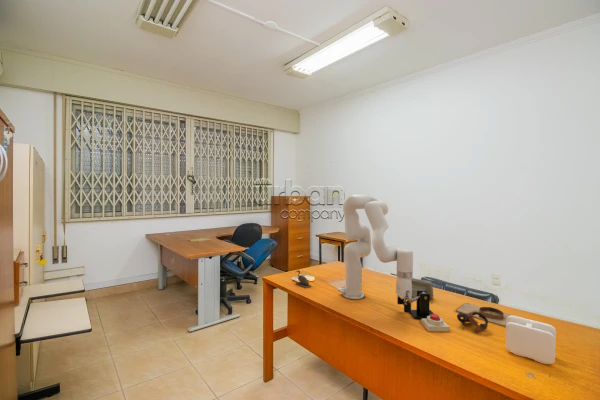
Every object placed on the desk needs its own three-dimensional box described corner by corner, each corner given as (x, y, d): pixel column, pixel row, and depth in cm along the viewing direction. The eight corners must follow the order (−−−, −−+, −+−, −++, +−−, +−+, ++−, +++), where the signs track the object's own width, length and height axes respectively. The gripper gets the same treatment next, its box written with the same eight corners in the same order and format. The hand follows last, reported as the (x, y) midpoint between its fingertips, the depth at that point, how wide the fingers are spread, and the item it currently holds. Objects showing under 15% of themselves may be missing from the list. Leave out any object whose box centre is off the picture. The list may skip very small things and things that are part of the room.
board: (523, 319, 135) (523, 313, 135) (515, 330, 125) (516, 322, 125) (466, 304, 154) (466, 298, 154) (455, 312, 144) (455, 305, 144)
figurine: (292, 282, 190) (292, 269, 190) (297, 281, 193) (297, 268, 192) (305, 288, 179) (305, 274, 179) (310, 286, 182) (311, 273, 182)
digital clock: (435, 298, 162) (435, 280, 162) (427, 302, 156) (427, 283, 156) (408, 291, 174) (409, 274, 174) (401, 294, 169) (401, 276, 168)
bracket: (414, 319, 136) (415, 294, 136) (408, 311, 144) (409, 289, 144) (437, 319, 136) (438, 295, 135) (430, 312, 144) (430, 289, 143)
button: (432, 321, 126) (432, 317, 126) (429, 317, 129) (429, 313, 129) (440, 321, 126) (440, 317, 126) (437, 317, 129) (437, 313, 129)
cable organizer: (502, 351, 109) (503, 321, 108) (507, 340, 116) (507, 313, 116) (554, 368, 98) (555, 335, 98) (556, 355, 106) (557, 325, 105)
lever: (406, 309, 137) (404, 304, 137) (402, 304, 142) (400, 300, 142) (428, 298, 137) (426, 294, 137) (424, 294, 142) (422, 290, 142)
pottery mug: (478, 323, 132) (487, 312, 128) (483, 341, 124) (493, 330, 120) (452, 315, 134) (459, 303, 130) (455, 332, 126) (463, 320, 122)
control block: (428, 331, 124) (428, 322, 124) (421, 322, 132) (421, 314, 132) (449, 331, 124) (449, 322, 124) (440, 323, 132) (440, 314, 132)
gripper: (391, 269, 148) (391, 301, 149) (402, 279, 131) (402, 315, 131) (405, 269, 148) (405, 301, 148) (419, 279, 131) (418, 316, 131)
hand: (403, 308), depth 140 cm, fingers open, 9 cm apart
